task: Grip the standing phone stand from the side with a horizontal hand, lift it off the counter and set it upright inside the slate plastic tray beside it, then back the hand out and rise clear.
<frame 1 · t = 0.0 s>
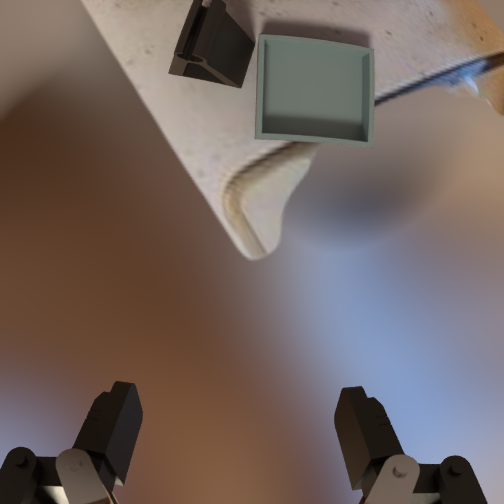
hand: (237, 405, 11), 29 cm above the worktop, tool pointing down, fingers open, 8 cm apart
phone stand: (211, 58, 32), on the worktop
slate tray: (312, 93, 34), on the worktop
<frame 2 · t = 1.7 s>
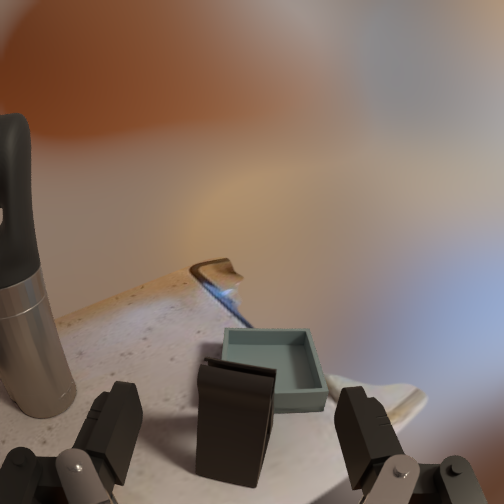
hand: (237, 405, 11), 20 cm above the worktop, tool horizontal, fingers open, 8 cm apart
phone stand: (237, 450, 28), on the worktop
slate tray: (268, 377, 39), on the worktop
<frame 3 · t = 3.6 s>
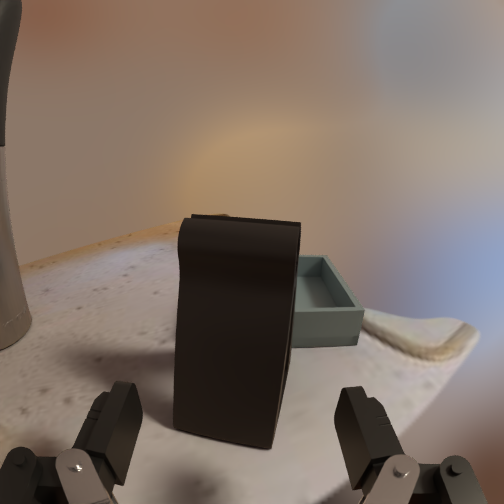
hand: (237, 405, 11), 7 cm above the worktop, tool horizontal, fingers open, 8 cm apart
phone stand: (239, 395, 20), on the worktop
slate tray: (279, 309, 32), on the worktop
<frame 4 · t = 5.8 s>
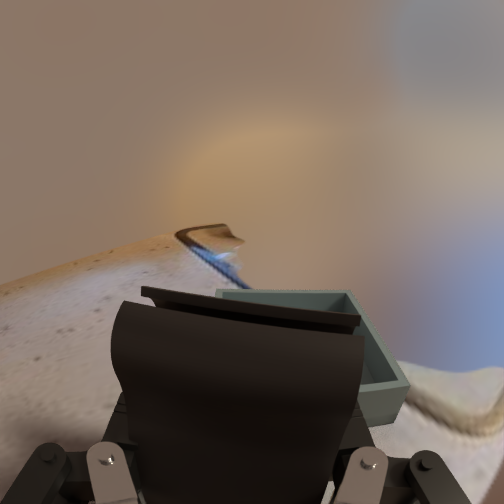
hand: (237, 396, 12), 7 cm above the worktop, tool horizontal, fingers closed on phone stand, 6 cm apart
slate tray: (291, 368, 23), on the worktop
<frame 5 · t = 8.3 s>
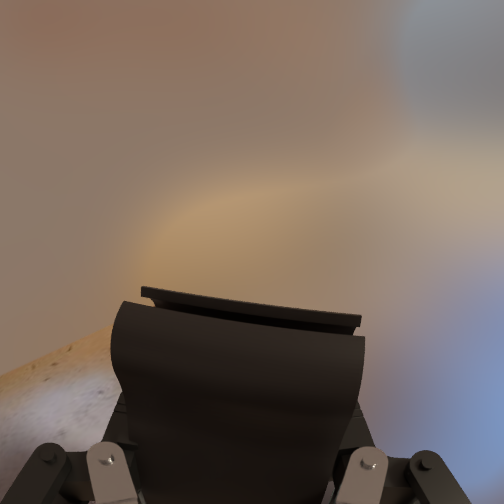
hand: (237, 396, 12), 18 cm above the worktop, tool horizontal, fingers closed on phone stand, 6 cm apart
when the fingers open (9 cm above the worktop, at t = 10.9 s): phone stand moves 2 cm, resting on slate tray.
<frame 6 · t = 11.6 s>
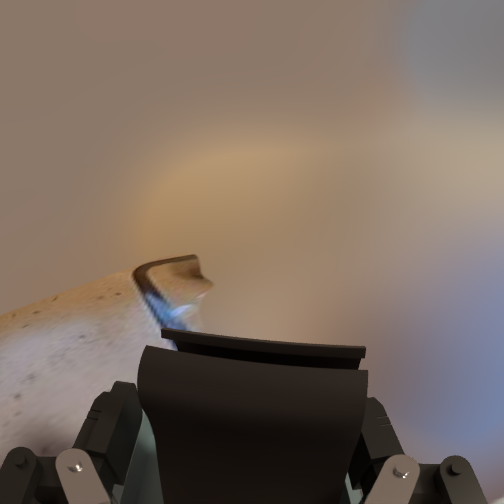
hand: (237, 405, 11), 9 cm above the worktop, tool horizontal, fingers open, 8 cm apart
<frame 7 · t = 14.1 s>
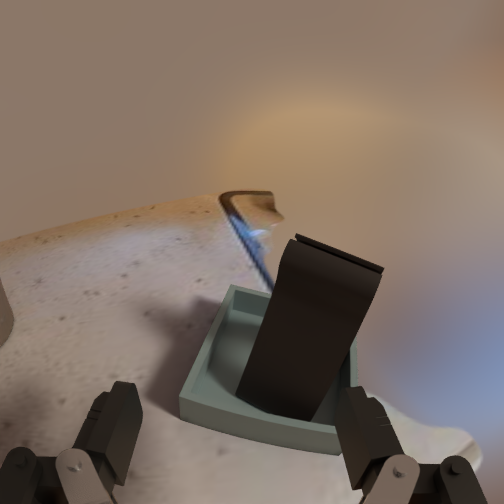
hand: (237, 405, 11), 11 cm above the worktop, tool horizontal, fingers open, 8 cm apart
phone stand: (292, 377, 25), point 1 cm above the worktop, touching slate tray
slate tray: (275, 376, 26), on the worktop
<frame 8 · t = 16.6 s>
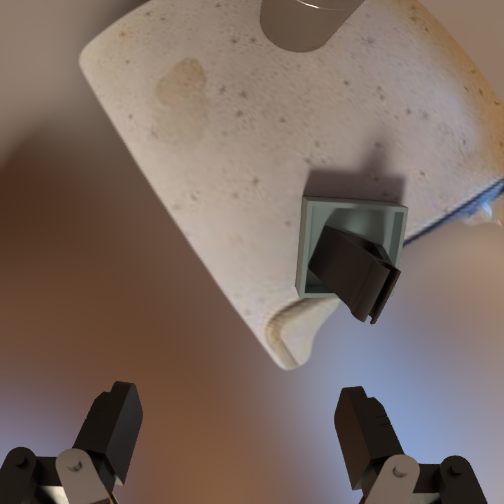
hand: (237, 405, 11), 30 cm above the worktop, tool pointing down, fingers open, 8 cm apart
phone stand: (345, 255, 41), point 1 cm above the worktop, touching slate tray
slate tray: (347, 244, 41), on the worktop
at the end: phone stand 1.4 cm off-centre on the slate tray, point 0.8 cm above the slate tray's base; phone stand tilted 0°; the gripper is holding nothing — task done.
